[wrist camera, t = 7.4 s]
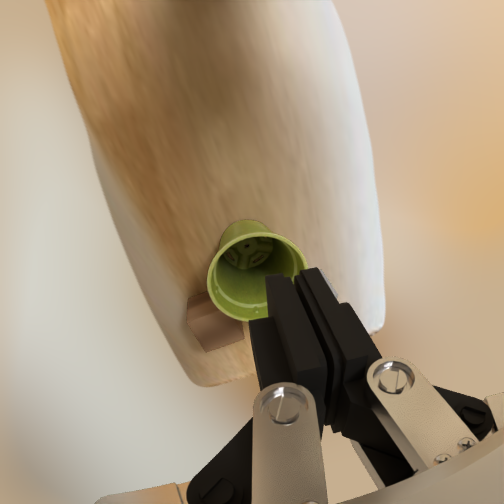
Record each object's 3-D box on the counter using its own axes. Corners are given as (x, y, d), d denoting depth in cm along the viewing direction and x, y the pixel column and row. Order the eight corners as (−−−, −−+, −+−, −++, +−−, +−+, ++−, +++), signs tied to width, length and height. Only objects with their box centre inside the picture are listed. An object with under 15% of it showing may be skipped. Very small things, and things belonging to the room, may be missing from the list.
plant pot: (255, 187, 35) (270, 211, 27) (301, 247, 38) (325, 284, 31) (189, 238, 36) (185, 276, 28) (240, 292, 40) (249, 337, 32)
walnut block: (188, 298, 39) (186, 322, 35) (225, 284, 39) (227, 307, 35) (205, 327, 42) (205, 352, 37) (240, 314, 41) (244, 338, 37)
